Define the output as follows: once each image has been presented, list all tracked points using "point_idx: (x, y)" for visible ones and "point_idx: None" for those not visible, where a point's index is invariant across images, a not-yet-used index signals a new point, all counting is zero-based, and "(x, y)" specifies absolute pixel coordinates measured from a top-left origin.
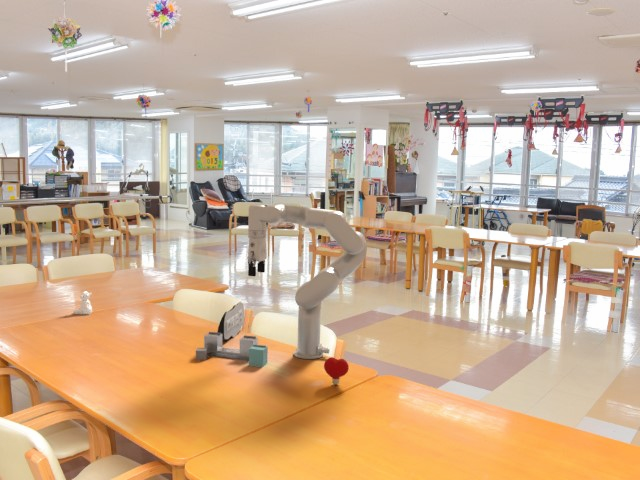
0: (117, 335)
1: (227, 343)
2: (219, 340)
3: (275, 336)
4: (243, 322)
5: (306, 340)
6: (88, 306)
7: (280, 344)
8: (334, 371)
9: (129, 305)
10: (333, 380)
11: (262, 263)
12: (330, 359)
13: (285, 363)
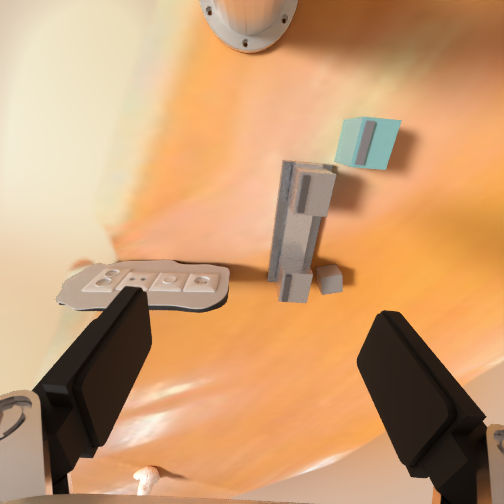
0: (233, 413)
1: (217, 258)
2: (298, 267)
3: (112, 162)
4: (90, 267)
5: None
6: (148, 481)
7: (177, 126)
8: None
9: None
10: None
11: (77, 406)
12: None
13: (343, 59)
